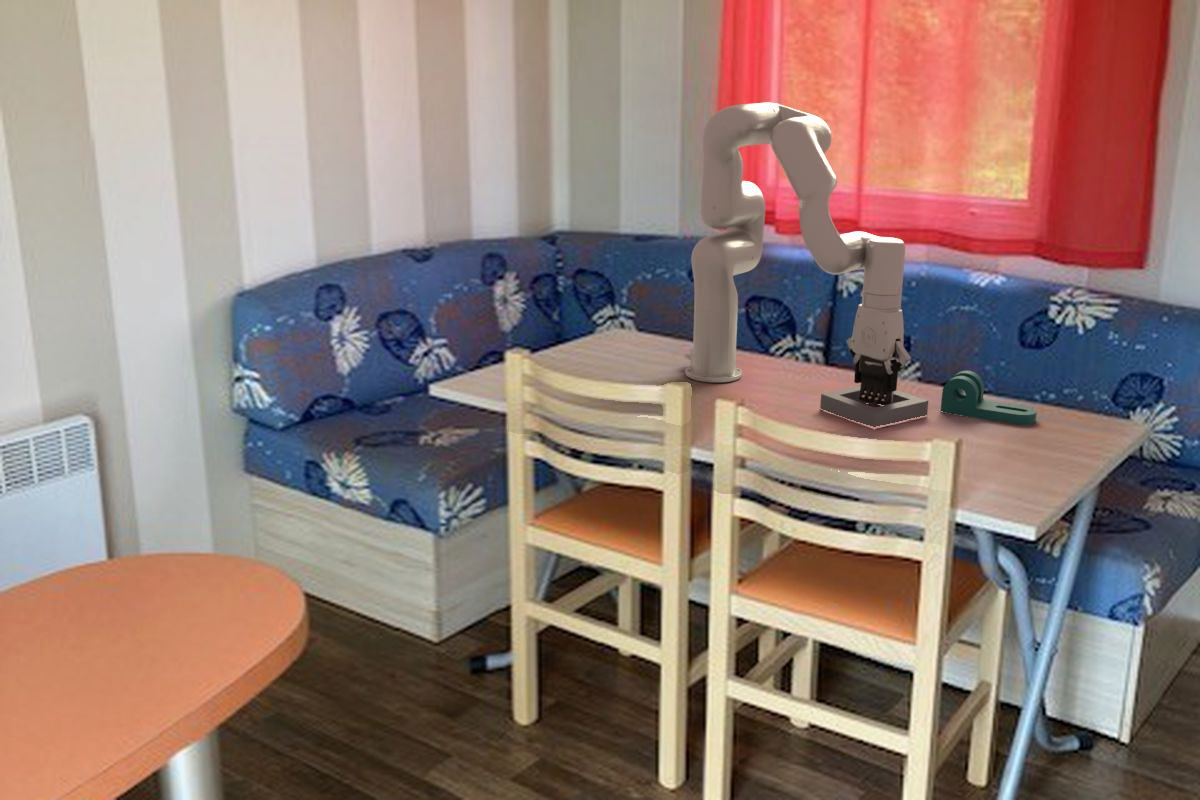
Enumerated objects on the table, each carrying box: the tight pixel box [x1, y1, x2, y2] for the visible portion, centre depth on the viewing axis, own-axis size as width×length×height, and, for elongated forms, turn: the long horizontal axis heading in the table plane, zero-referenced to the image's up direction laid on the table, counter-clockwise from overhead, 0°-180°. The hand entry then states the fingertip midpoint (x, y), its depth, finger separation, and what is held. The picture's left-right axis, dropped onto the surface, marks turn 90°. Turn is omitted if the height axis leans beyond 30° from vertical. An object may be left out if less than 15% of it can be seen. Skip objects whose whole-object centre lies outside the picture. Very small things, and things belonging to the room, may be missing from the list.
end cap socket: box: [819, 384, 929, 427], centre depth 248 cm, size 15×15×4 cm
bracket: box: [940, 370, 1038, 426], centre depth 248 cm, size 18×7×8 cm, turn 60°
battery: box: [859, 355, 894, 405], centre depth 246 cm, size 7×4×11 cm, turn 55°
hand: (875, 386), depth 247 cm, fingers closed on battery, 7 cm apart
